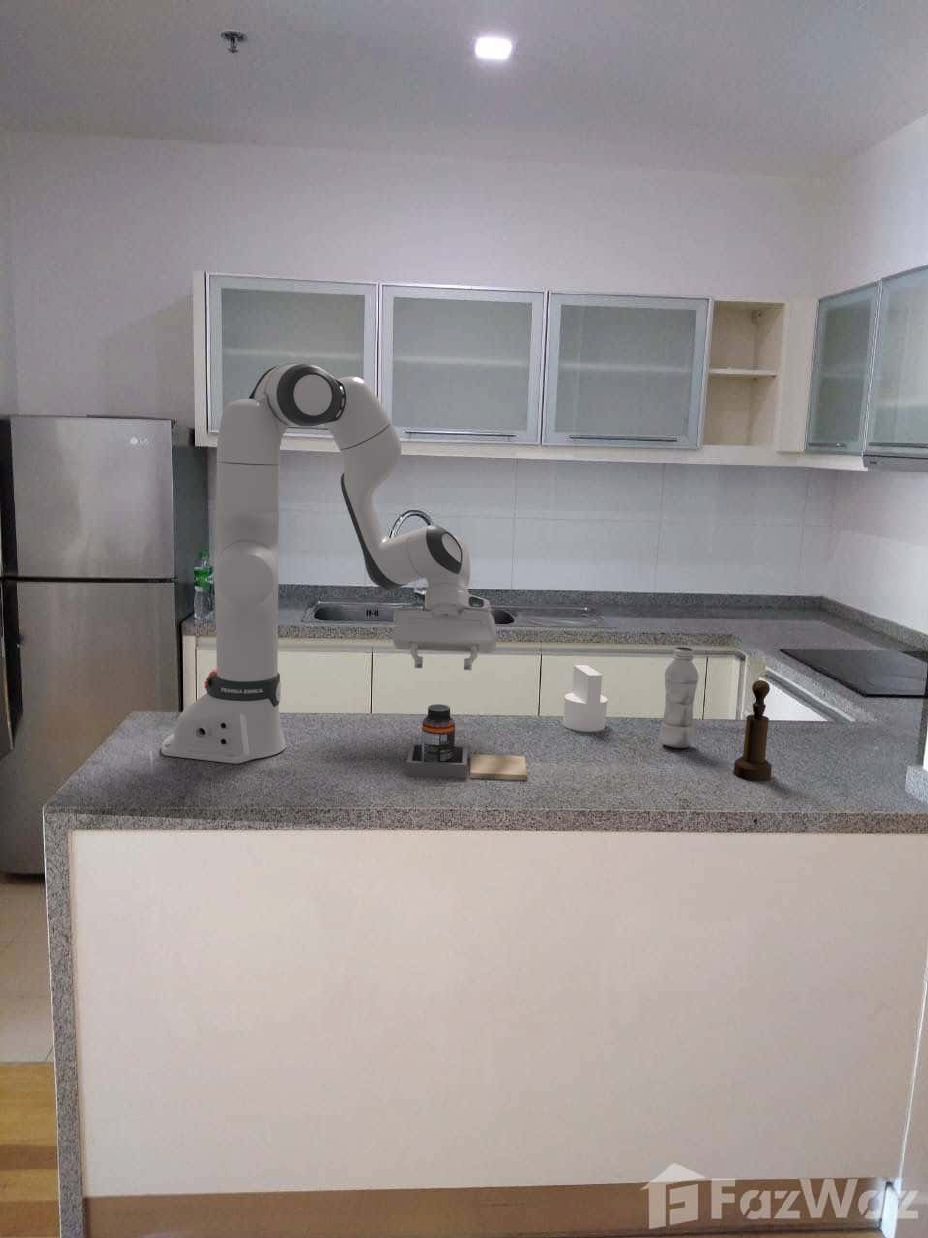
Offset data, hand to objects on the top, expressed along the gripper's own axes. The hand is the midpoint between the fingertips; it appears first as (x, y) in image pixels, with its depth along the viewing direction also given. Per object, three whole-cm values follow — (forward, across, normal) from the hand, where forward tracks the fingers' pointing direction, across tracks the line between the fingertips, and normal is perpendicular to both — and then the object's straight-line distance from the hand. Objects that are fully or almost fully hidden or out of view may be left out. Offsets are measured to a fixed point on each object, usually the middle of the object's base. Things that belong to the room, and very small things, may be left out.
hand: (443, 667), depth 183 cm
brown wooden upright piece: (+18, +58, +5) cm, 61 cm away
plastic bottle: (+7, +47, +15) cm, 50 cm away
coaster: (+20, +11, +2) cm, 23 cm away
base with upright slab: (-1, +30, +24) cm, 38 cm away
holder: (+20, 0, +2) cm, 20 cm away
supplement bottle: (+20, 0, +2) cm, 20 cm away
